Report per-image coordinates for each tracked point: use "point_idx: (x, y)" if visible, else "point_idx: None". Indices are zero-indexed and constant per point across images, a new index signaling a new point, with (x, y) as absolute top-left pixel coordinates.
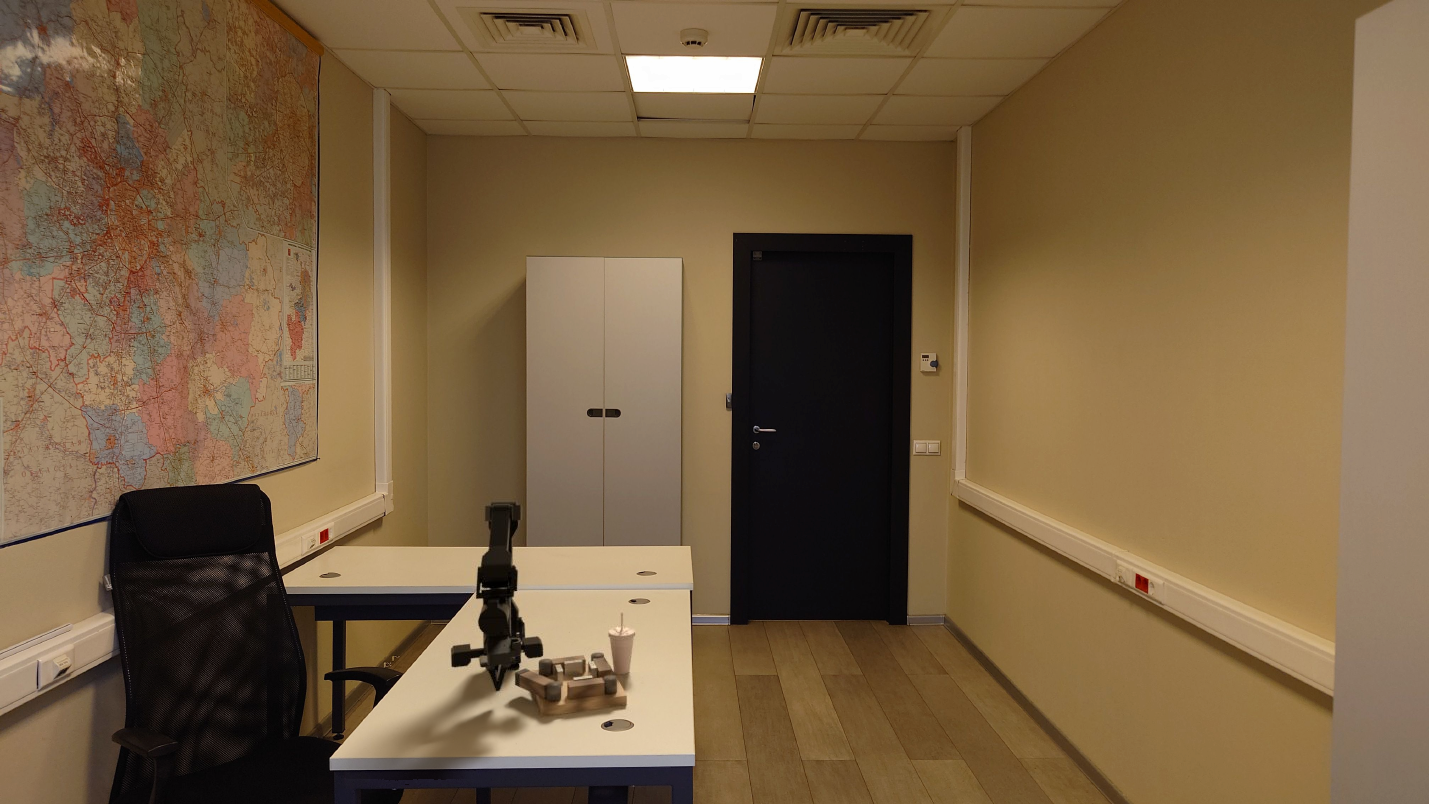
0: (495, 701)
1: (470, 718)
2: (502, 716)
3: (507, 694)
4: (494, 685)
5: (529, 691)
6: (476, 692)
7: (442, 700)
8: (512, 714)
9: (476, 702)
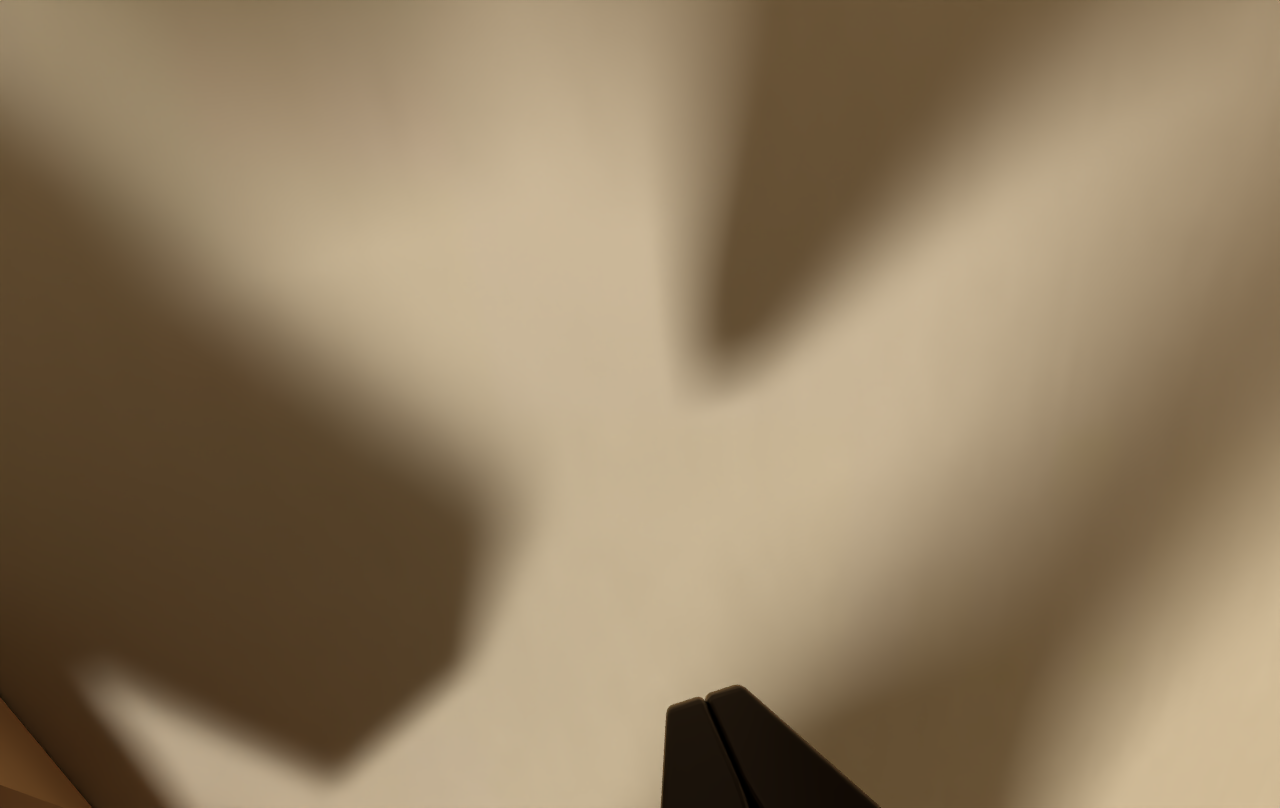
0: (679, 621)
1: (1036, 90)
2: (492, 95)
3: (543, 793)
4: (825, 770)
5: (31, 797)
6: (901, 789)
7: (1236, 613)
8: (299, 166)
9: (914, 586)
